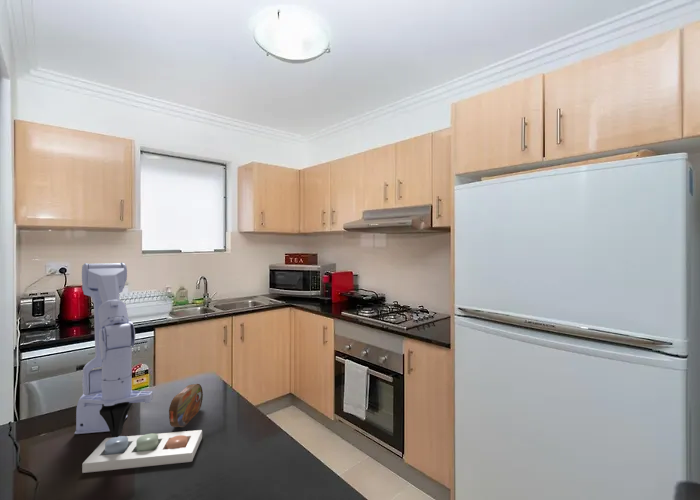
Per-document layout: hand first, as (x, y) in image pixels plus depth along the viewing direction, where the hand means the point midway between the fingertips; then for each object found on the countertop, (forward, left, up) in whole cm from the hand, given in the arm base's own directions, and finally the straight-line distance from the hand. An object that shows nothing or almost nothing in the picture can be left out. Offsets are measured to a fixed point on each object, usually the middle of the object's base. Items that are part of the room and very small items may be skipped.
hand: (116, 435), depth 80 cm
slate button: (0, 0, -4) cm, 4 cm away
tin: (+11, +16, -5) cm, 20 cm away
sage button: (+7, 0, -4) cm, 8 cm away
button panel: (+6, 0, -5) cm, 8 cm away
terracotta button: (+13, 0, -5) cm, 14 cm away
